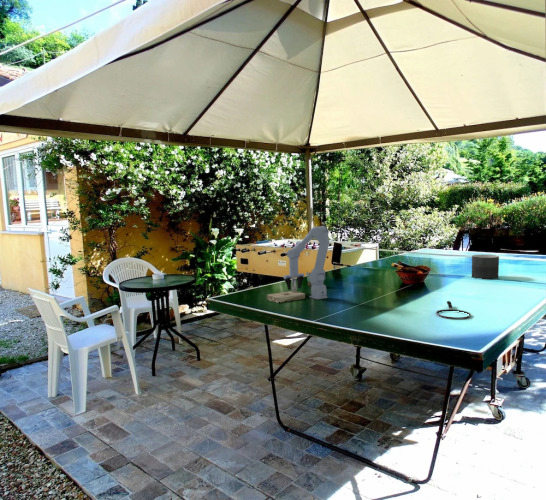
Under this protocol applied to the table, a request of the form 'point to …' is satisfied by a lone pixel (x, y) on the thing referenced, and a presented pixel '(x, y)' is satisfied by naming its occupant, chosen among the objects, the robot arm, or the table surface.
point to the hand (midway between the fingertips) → (294, 288)
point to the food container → (308, 279)
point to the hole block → (285, 296)
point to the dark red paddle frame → (451, 310)
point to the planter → (485, 266)
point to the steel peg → (294, 284)
